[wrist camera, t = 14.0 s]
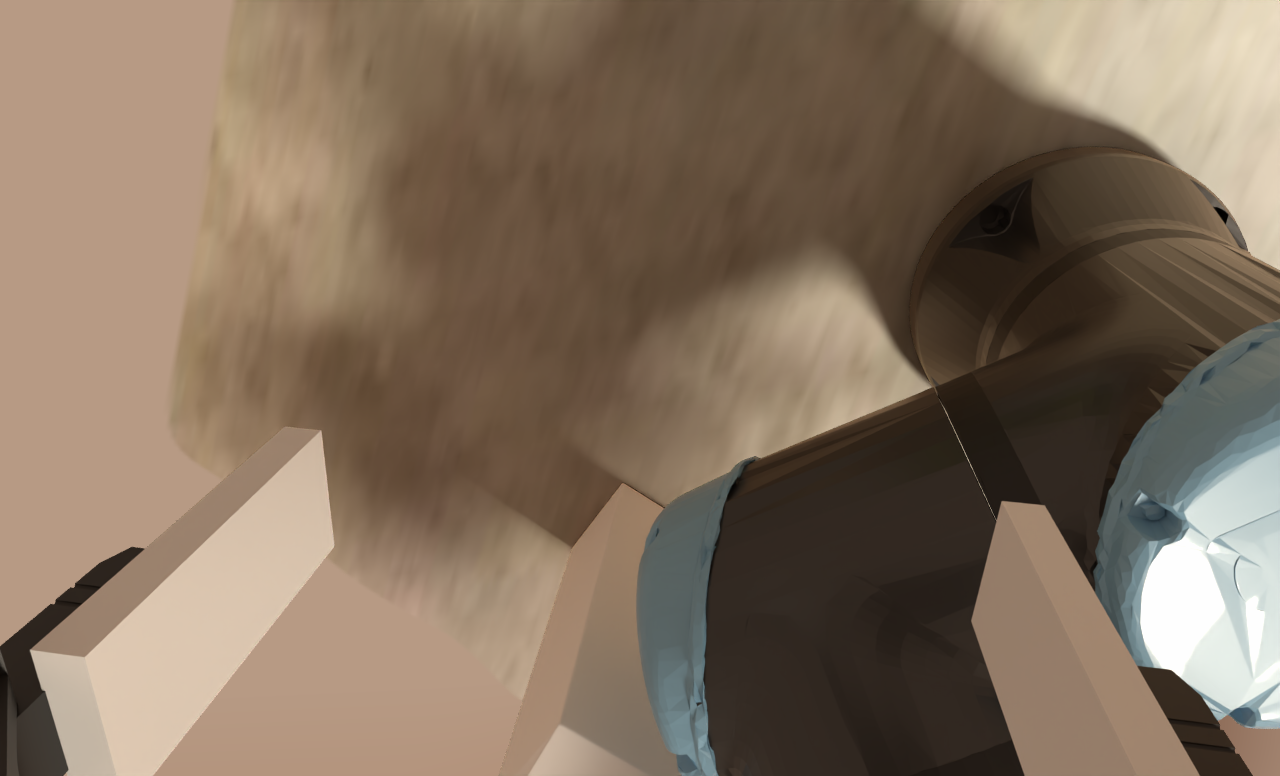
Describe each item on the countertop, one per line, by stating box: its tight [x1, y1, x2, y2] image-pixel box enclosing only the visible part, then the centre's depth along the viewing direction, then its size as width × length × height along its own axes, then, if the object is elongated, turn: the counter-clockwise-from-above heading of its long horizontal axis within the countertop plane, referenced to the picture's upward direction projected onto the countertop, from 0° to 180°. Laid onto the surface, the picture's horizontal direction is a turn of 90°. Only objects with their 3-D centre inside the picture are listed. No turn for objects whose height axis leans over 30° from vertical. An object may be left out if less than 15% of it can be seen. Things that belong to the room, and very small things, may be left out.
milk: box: [499, 483, 681, 776], centre depth 43 cm, size 6×6×22 cm
